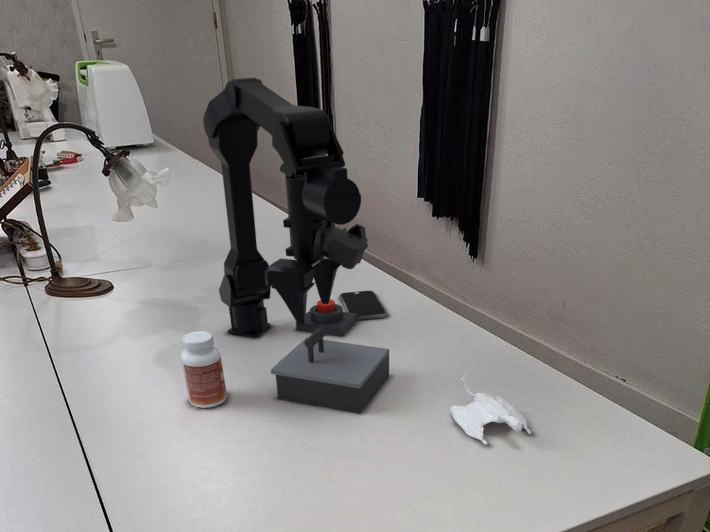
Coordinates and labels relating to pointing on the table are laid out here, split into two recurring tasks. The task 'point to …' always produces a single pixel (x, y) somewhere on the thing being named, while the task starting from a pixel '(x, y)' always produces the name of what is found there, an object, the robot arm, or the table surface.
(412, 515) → the table surface
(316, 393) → the open square tray
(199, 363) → the pill bottle
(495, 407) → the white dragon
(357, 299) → the smartphone
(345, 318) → the switch block
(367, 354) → the box lid with handle
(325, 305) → the power button
